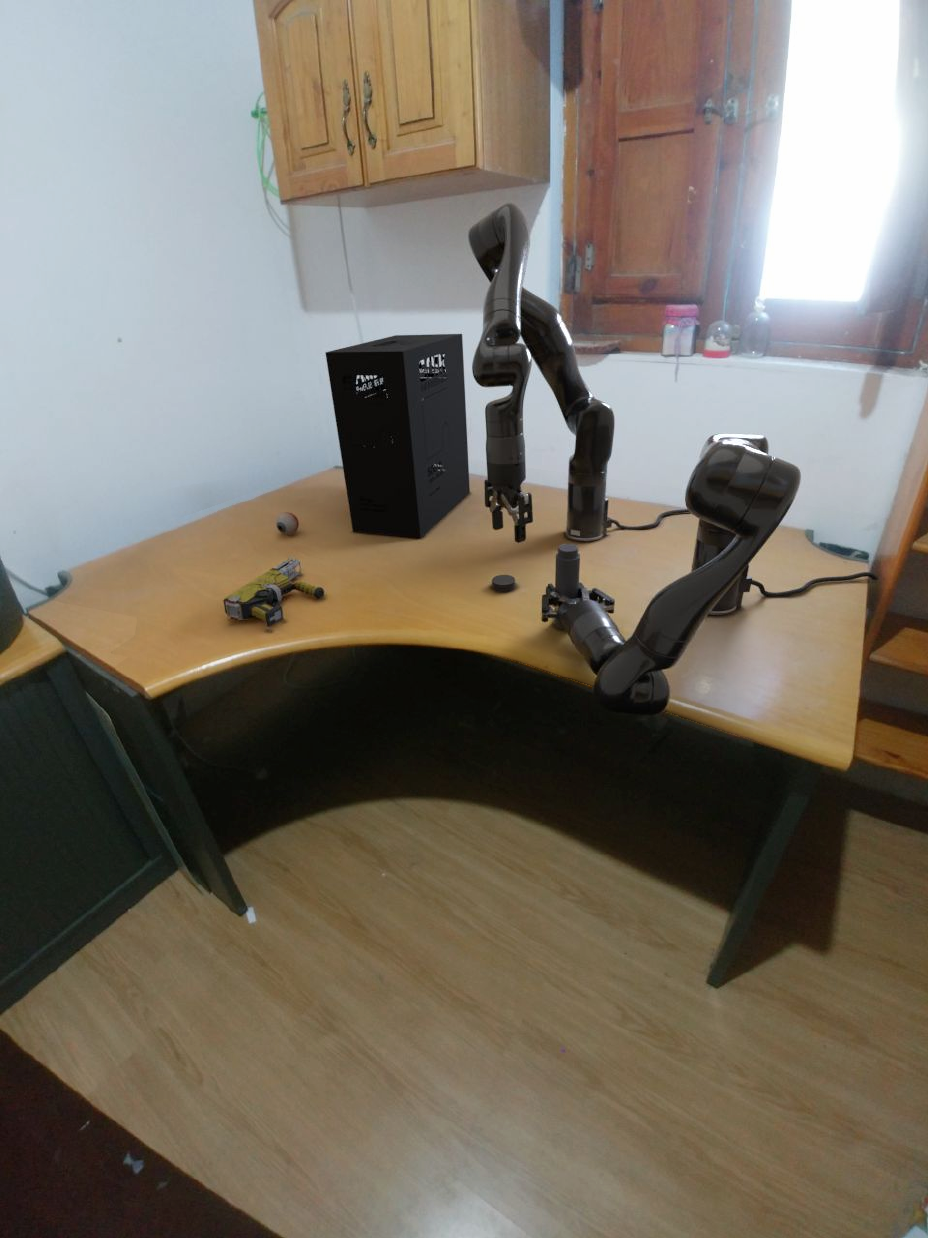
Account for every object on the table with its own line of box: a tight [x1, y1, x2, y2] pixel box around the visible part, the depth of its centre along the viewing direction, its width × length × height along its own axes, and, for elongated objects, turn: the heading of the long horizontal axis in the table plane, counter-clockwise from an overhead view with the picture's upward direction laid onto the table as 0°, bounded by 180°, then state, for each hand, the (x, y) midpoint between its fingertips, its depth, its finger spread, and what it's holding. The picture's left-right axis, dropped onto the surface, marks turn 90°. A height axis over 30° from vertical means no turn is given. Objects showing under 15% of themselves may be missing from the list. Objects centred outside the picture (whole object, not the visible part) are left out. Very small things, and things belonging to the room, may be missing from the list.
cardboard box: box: [325, 333, 471, 539], centre depth 165 cm, size 38×20×45 cm, turn 159°
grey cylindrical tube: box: [553, 543, 581, 631], centre depth 113 cm, size 4×4×16 cm
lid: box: [491, 574, 516, 593], centre depth 131 cm, size 5×5×2 cm
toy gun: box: [222, 557, 325, 628], centre depth 130 cm, size 5×24×15 cm
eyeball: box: [275, 511, 300, 536], centre depth 163 cm, size 6×6×6 cm
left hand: (508, 535), depth 124 cm, fingers open, 8 cm apart
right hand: (562, 586), depth 115 cm, fingers closed on grey cylindrical tube, 4 cm apart
